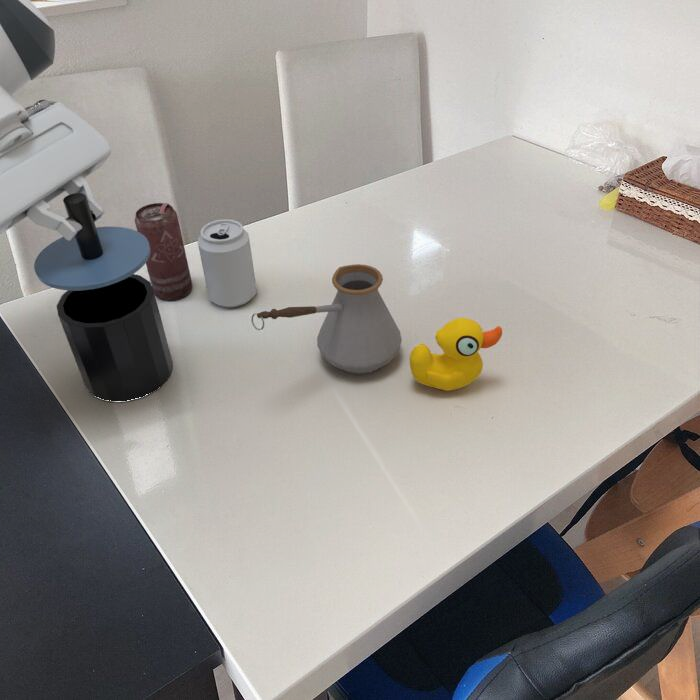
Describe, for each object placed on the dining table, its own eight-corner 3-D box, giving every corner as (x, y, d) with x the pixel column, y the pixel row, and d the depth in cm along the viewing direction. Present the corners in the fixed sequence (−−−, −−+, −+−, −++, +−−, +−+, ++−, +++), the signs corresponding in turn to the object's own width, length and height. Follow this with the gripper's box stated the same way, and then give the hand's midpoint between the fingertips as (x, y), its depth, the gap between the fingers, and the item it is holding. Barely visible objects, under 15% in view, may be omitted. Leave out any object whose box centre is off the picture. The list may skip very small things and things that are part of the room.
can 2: (201, 307, 104) (186, 239, 96) (220, 280, 109) (207, 213, 102) (247, 313, 102) (236, 244, 94) (264, 285, 108) (254, 218, 100)
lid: (42, 307, 71) (15, 239, 66) (33, 250, 80) (8, 186, 75) (162, 277, 75) (145, 210, 69) (140, 226, 84) (124, 163, 78)
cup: (92, 413, 87) (62, 337, 79) (80, 360, 95) (52, 286, 87) (181, 386, 90) (161, 310, 82) (162, 337, 98) (143, 264, 90)
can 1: (200, 281, 109) (183, 202, 100) (182, 304, 105) (163, 223, 96) (165, 276, 111) (146, 198, 102) (147, 298, 106) (125, 219, 97)
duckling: (490, 366, 91) (498, 306, 85) (499, 394, 87) (508, 333, 81) (406, 372, 91) (408, 312, 85) (411, 399, 87) (413, 339, 80)
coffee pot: (362, 319, 100) (360, 230, 90) (418, 356, 93) (422, 264, 84) (242, 387, 90) (225, 294, 80) (295, 434, 83) (283, 339, 73)
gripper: (42, 111, 80) (131, 199, 83) (-102, 188, 66) (13, 289, 69) (61, 76, 76) (154, 170, 79) (-89, 149, 61) (33, 260, 65)
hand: (87, 226), depth 74 cm, fingers closed on lid, 2 cm apart
